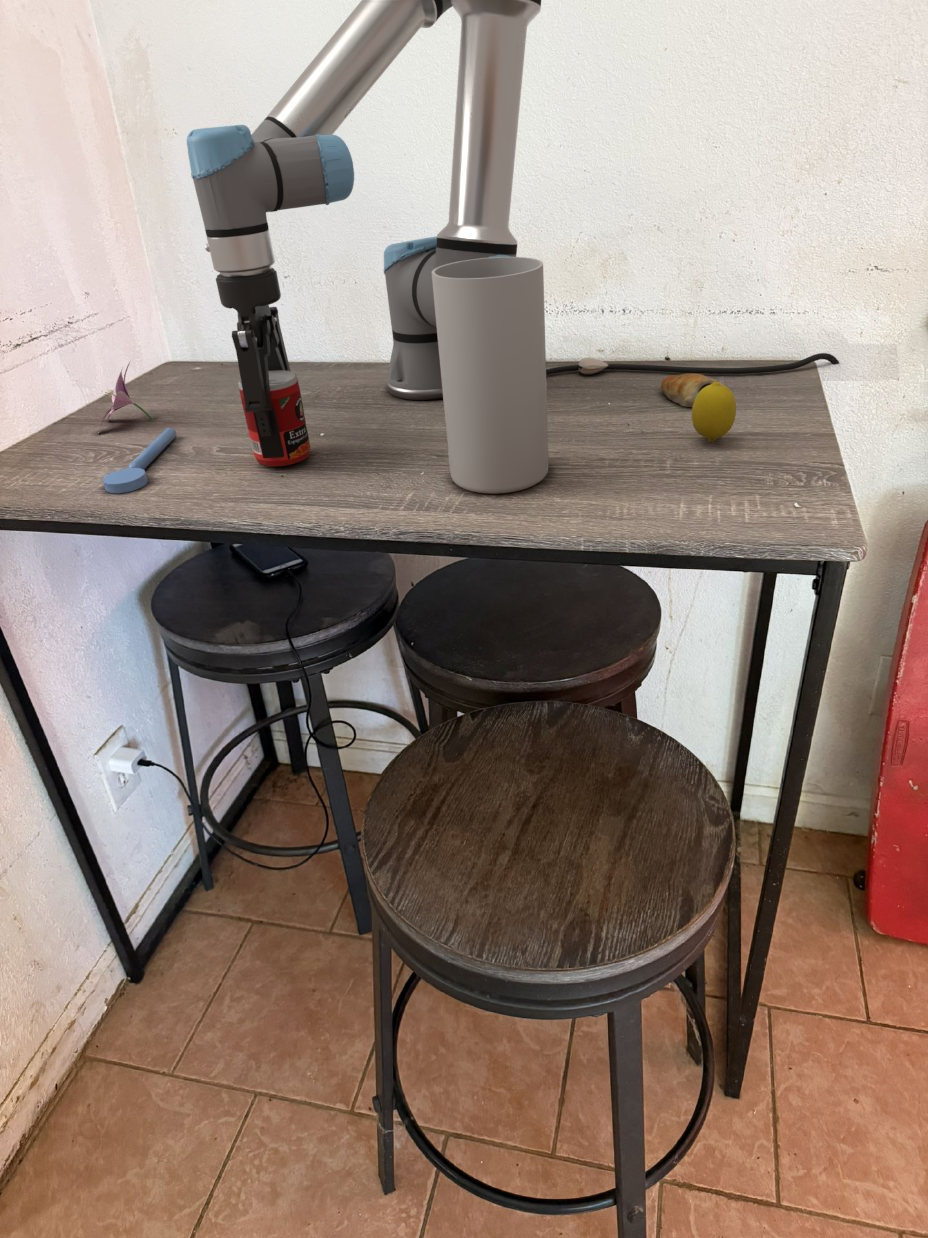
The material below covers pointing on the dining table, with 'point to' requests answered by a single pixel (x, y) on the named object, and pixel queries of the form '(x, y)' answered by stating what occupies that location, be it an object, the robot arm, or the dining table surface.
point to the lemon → (714, 411)
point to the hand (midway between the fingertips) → (281, 445)
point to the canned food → (282, 420)
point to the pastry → (684, 387)
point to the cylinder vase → (493, 371)
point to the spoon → (137, 466)
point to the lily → (121, 396)
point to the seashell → (591, 366)
